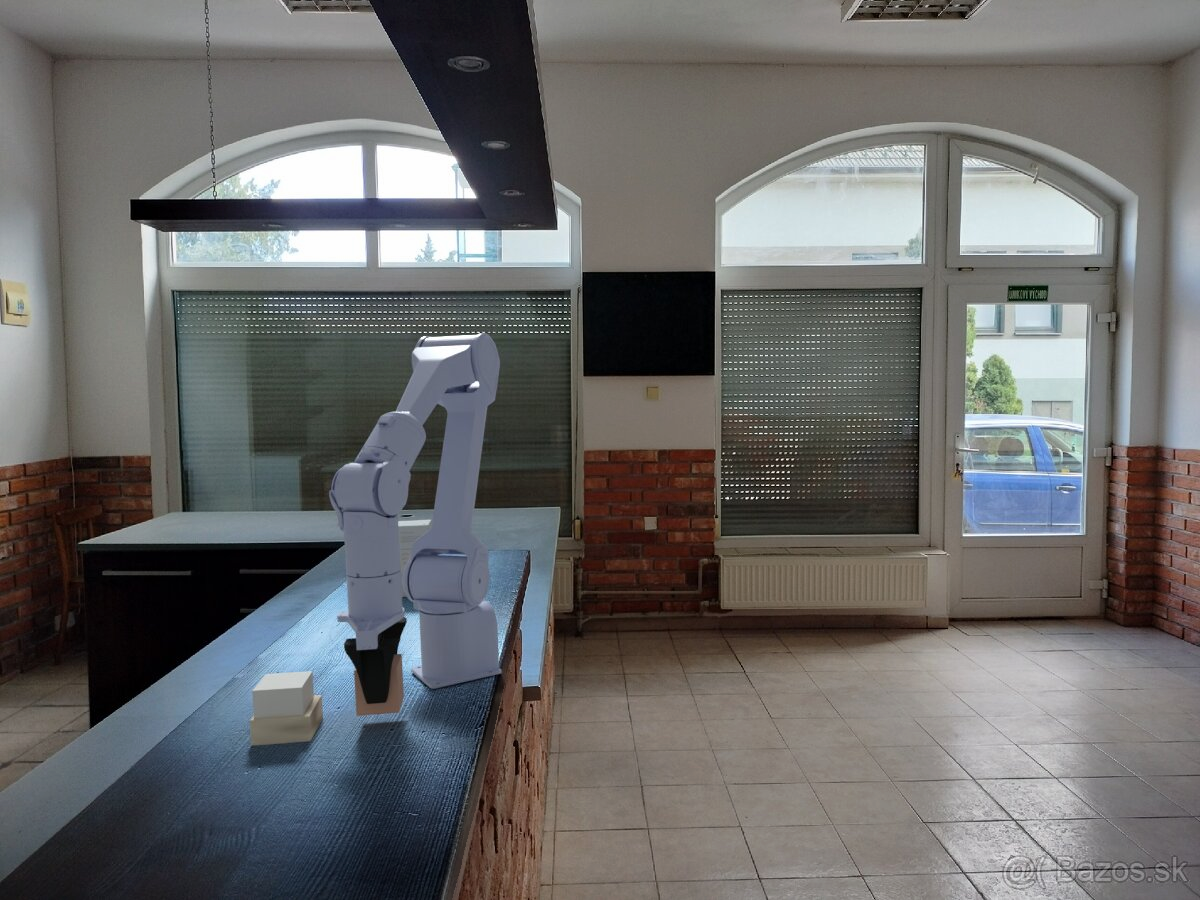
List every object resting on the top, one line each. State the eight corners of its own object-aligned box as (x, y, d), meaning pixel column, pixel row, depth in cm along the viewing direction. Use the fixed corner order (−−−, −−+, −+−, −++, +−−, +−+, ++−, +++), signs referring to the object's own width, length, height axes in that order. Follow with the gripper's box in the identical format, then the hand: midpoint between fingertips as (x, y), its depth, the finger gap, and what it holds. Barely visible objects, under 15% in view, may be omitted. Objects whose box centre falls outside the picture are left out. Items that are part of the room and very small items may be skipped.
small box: (436, 587, 151) (432, 518, 150) (432, 596, 145) (429, 524, 144) (391, 590, 150) (388, 520, 149) (386, 598, 144) (382, 526, 143)
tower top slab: (267, 700, 90) (265, 674, 90) (313, 697, 91) (312, 671, 90) (253, 718, 85) (252, 690, 85) (303, 715, 86) (301, 687, 85)
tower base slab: (267, 724, 91) (266, 698, 90) (323, 720, 91) (321, 694, 91) (251, 748, 85) (249, 720, 85) (310, 743, 85) (309, 716, 85)
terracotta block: (363, 700, 91) (360, 656, 91) (403, 696, 92) (401, 653, 91) (356, 715, 87) (353, 670, 86) (399, 712, 87) (397, 667, 87)
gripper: (347, 560, 95) (353, 673, 96) (321, 590, 80) (329, 723, 82) (409, 556, 96) (414, 668, 97) (394, 586, 81) (401, 717, 82)
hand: (380, 693), depth 89 cm, fingers closed on terracotta block, 4 cm apart
